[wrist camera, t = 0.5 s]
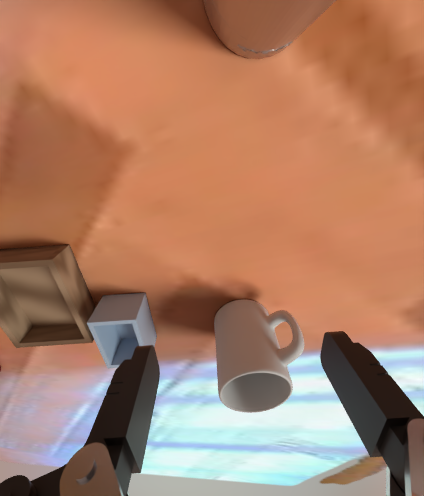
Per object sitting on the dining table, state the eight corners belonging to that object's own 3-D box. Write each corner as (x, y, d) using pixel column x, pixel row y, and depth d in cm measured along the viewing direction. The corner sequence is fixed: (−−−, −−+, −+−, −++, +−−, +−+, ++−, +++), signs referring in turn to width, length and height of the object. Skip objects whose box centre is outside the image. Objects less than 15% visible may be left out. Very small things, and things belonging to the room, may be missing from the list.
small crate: (103, 295, 31) (86, 322, 27) (145, 292, 31) (135, 319, 27) (119, 338, 36) (107, 368, 31) (156, 336, 36) (150, 365, 31)
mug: (237, 345, 37) (249, 420, 28) (202, 319, 34) (202, 394, 25) (298, 308, 34) (335, 380, 24) (265, 275, 31) (294, 343, 21)
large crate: (-17, 250, 27) (-45, 266, 24) (69, 244, 27) (52, 259, 24) (33, 327, 34) (16, 347, 31) (102, 323, 34) (92, 342, 31)
